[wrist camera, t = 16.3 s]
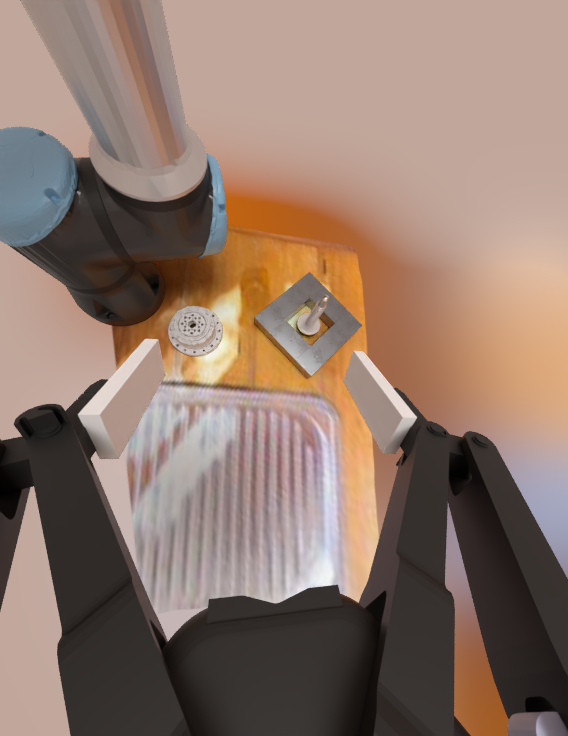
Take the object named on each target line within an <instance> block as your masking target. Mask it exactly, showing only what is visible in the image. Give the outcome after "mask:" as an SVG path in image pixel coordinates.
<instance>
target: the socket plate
mask: <svg viewBox="0 0 568 736" xmlns="http://www.w3.org/2000/svg"><path fill="white" fill-rule="evenodd" d="M325 295H328V296H329V300H328V303H327V306H326V308H325V310H324V311H323V313H322V314H321V316H320V317H319V318H320V319H321V320H322V321H323V322H324V323H325V324H326V325H327V326H328V327H329V328H330V329H329V330H328V331H327V332H325V333H324V334H323V335H322V336H321V337H320V338H319V339H318V340H317V341H316V342H315V343H314V344H313V345H312V346H310V345H309V344H308V343H307V342H306V341H305V340H304V339H303V338H302V337H301V336H300V335H299V334H298V333H297V332H296V331H295V330H294V329H293V328H292V327H291V325H290V324H289V323H288V322H287V321H288V320H289V319H290V318H291V317H292V316H294V315H295V314H296V313H297V312H298V311H299V310H300V309H302V308H303V307H304V306H305V305H307V306H308V307H309V308H310V309H311V310H313V308H314V306H315V305H316V303H317V302H318V301H320V300H321V299H323V297H324V296H325ZM254 324H255V325H256V326H257V327H258V328H259V329H260V330H261V331H262V332H263V333H264V334H265V335H266V336H267V337H268V338H269V339H270V340H271V341H272V343H273V344H274V345H275V346H276V347H277V348H278V349H279V350H280V351H281V352H282V353H283V354H284V355H285V356H286V357H287V358H288V359H289V360H290V361H291V362H292V363H293V364H294V365H295V366H296V367H297V369H298V370H299V371H300V372H301V373H302V374H303V375H304V376H305V377H306V378H309V377H311V376H312V375H313V374H314V373H315V372H316V371H317V370H318V369H319V368H320V367H321V366H322V365H323V364H324V363H325V362H326V361H327V360H328V359H329V358H330V357H331V356H332V355H333V354H334V353H335V352H336V351H337V350H338V349H339V348H340V347H341V346H342V345H343V344H344V343H345V342H346V341H347V340H348V339H349V338H350V337H351V336H352V335H353V334H354V333H355V332H356V331H357V330H358V329H359V328H360V327H361V326H362V325H361V324H360V323H359V322H358V321H357V320H356V319H355V318H354V317H353V316H352V315H351V314H350V313H349V312H348V311H347V310H346V308H345V307H344V306H343V305H342V304H341V303H340V302H339V301H338V300H337V299H336V298H335V297H334V296H333V295H332V294H331V293H330V292H329V291H328V290H327V289H326V288H325V287H324V286H323V285H322V284H321V283H320V282H319V281H318V280H317V279H316V278H315V277H314V276H313V275H312V274H311V273H310V272H309V273H308V274H307V275H305V276H304V277H303V278H302V279H300V280H299V281H298V282H297V283H296V284H294V285H293V286H292V287H291V288H289V289H288V290H287V291H286V292H285V293H283V294H282V295H281V296H280V297H278V298H277V299H276V300H275V301H274V302H272V303H271V304H270V305H269V306H267V307H266V308H265V309H264V310H263V311H261V312H260V313H259V314H258V315H257V316H255V317H254Z"/></svg>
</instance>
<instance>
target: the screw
mask: <svg viewBox="0 0 568 736" xmlns="http://www.w3.org/2000/svg"><path fill="white" fill-rule="evenodd" d="M328 300H329V296H328V295H325V296H324V297H323V299H321V300H320V301H318V302H317V303H316V305H315V306H314V308H313V310H312V311H311V313H304V314H302V315H301V316H300V317H299V319H298V321H297V325H298V328H299V330H300V331H301V332H302V333H303V334H306V335H313V334H315V333H317V332H318V330H319V328H320V321H319V319H318V318H319V317H320V316H321V314H322V313H323V311H324V310H325V308H326V306H327V303H328Z"/></svg>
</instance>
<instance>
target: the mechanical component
mask: <svg viewBox="0 0 568 736" xmlns="http://www.w3.org/2000/svg"><path fill="white" fill-rule="evenodd" d="M193 324H196V326H194V327H193V328H190V326H191V325H193ZM168 334H169V339H170V341H171V342H172V344H173V346H174V347H175V348H177V349H178V350H179V351H180V352H182V353H183V354H186V355H188V356H203V355H206V354H209V353H210V352H212V351H213V350H214V349H216V348H217V346H218V345H219V344H220V341H221V339H222V325H221V322H220V320H219V318H218V317H217V316H216V315H215V314H214V313H213V312H212V311H210V310H209V309H207V308H203V307H199V306H198V307H197V306H191V307H190V306H187V307H185V308H183V309H181V310H178V311H177V313H176V314H175V315H174V317H173V318H172V319H171V321H170V324H169V328H168ZM177 346H178V347H177ZM212 346H213V347H212ZM195 352H196V353H195Z"/></svg>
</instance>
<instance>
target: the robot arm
mask: <svg viewBox="0 0 568 736" xmlns="http://www.w3.org/2000/svg"><path fill="white" fill-rule="evenodd" d="M21 2H22V4H23V6H24V8H25V10H26V11H27V13H28V15H29V17H30V19H31V21H32V22H33V24H34V26H35V28H36V30H37V31H38V33H39V35H40V37H41V39H42V41H43V43H44V44H45V46H46V48H47V50H48V52H49V53H50V55H51V57H52V59H53V61H54V62H55V64H56V66H57V68H58V70H59V72H60V74H61V76H62V77H63V79H64V81H65V83H66V85H67V87H68V88H69V90H70V92H71V94H72V96H73V97H74V99H75V101H76V103H77V105H78V107H79V109H80V110H81V112H82V114H83V116H84V118H85V119H86V121H87V123H88V125H89V127H90V129H91V131H92V132H93V133H92V135H91V137H90V141H89V155H90V157H89V158H73V156H72V154H71V152H70V151H69V150H68V149H67V148H66V147H65V146H64V145H62V144H61V143H60V142H59V141H58V140H57V139H55V138H54V137H53V136H51V135H49V134H45V133H44V132H43V131H40V130H38V129H34V128H28V127H11V128H5V129H1V130H0V241H2V242H4V243H5V244H8V245H9V246H10V247H12V248H13V249H14V250H16V251H17V252H19V253H20V254H22V255H23V256H25V257H26V258H27V259H29V260H30V261H32V262H33V263H34V264H36V265H37V266H39V267H40V268H41V269H43V270H45V271H46V272H47V273H49V274H50V275H52V276H53V277H54V278H56V279H57V280H59V281H60V282H62V283H63V284H64V285H66V287H67V289H68V290H69V292H70V294H71V295H72V297H73V298H74V300H75V302H76V303H77V305H78V306H79V307H80V308H81V309H82V310H83V311H84V312H86V313H87V314H89V315H90V316H91V317H93V318H95V319H96V320H98V321H100V322H102V323H105V324H109V325H114V326H127V325H133V324H136V323H139V322H142V321H144V320H145V319H147V318H149V317H150V316H151V315H153V314H154V313H155V312H156V311H157V309H158V308H159V307H160V305H161V303H162V301H163V298H164V295H165V284H164V280H163V278H162V276H161V274H160V272H159V270H158V269H157V267H156V266H155V265H154V263H153V262H160V261H170V260H180V259H191V258H202V257H204V256H207V255H213V254H218V253H220V252H221V251H222V250H223V248H224V246H225V243H226V237H227V215H226V211H225V193H224V186H223V180H222V175H221V171H220V168H219V164H218V162H217V160H216V158H215V157H214V156H212V155H209V154H207V153H206V151H205V147H204V145H203V143H202V141H201V139H200V137H199V136H198V135H197V133H196V132H195V131H194V130H193V129H192V128H191V127H190V126H189V125H188V124H186V121H185V116H184V111H183V106H182V101H181V96H180V91H179V86H178V81H177V76H176V71H175V66H174V61H173V56H172V51H171V47H170V41H169V36H168V31H167V27H166V22H165V17H164V12H163V7H162V2H161V0H21ZM164 377H165V371H164V366H163V361H162V355H161V350H160V345H159V340H158V339H145V340H144V341H143V342H142V343H141V344H140V345H139V346H138V348H137V349H136V350H135V351H134V352H133V353H132V354H131V355H130V357H129V358H128V359H127V360H126V361H125V362H124V363H123V364H122V365H121V367H120V368H119V369H118V370H117V371H116V372H115V373H114V375H113V376H112V377H111V378H110V379H109V380H103V379H101V380H99V381H97V382H96V383H94V384H92V385H90V386H89V387H88V389H86V390H85V392H84V394H82V395H81V396H80V397H79V398H78V400H76V401H75V402H74V403H73V404H72V405H71V406H70V407H69V408H68V409H67V410H66V411H65V410H64V409H63V407H62V406H61V405H57V404H46V405H41V406H37V407H34V408H32V409H29V410H27V411H25V412H24V413H22V414H21V415H20V416H18V417H17V418H16V420H15V422H14V425H15V427H16V428H17V429H18V431H19V432H20V434H21V435H22V436H23V437H18V438H13V439H8V440H3V441H1V440H0V610H1V606H2V602H3V598H4V594H5V590H6V586H7V581H8V577H9V573H10V568H11V565H12V561H13V556H14V552H15V548H16V544H17V540H18V536H19V532H20V528H21V524H22V519H23V515H24V511H25V507H26V503H27V498H28V494H29V490H30V487H33V486H34V487H35V492H36V498H37V503H38V508H39V513H40V518H41V524H42V529H43V534H44V539H45V544H46V549H47V554H48V559H49V564H50V570H51V575H52V580H53V585H54V590H55V595H56V601H57V606H58V611H59V616H60V621H61V626H62V637H61V639H60V641H59V643H58V649H57V656H58V665H59V671H60V676H61V682H62V688H63V694H64V700H65V706H66V711H67V717H68V723H69V728H70V734H71V736H470V734H469V733H468V732H467V731H466V730H465V728H464V727H463V726H462V725H461V723H460V722H459V721H458V720H457V719H456V717H455V716H454V629H455V615H454V614H455V608H454V599H453V596H452V593H451V592H450V591H448V590H447V589H446V586H445V559H446V557H445V556H446V530H447V504H448V503H449V507H450V511H451V515H452V519H453V523H454V527H455V531H456V535H457V539H458V543H459V547H460V550H461V554H462V559H463V563H464V567H465V570H466V574H467V578H468V582H469V587H470V590H471V594H472V598H473V602H474V606H475V610H476V614H477V618H478V622H479V626H480V630H481V634H482V638H483V642H484V646H485V650H486V654H487V657H488V661H489V664H490V668H491V671H492V674H493V678H494V681H495V684H496V687H497V689H498V692H499V695H500V698H501V701H502V704H503V706H504V709H505V712H506V714H507V717H508V719H509V720H508V727H507V733H508V736H568V579H567V577H566V575H565V573H564V571H563V570H562V568H561V566H560V564H559V562H558V561H557V559H556V557H555V555H554V553H553V551H552V549H551V547H550V546H549V544H548V542H547V540H546V538H545V537H544V535H543V533H542V531H541V529H540V527H539V526H538V524H537V522H536V520H535V518H534V516H533V514H532V513H531V511H530V509H529V507H528V505H527V503H526V502H525V500H524V498H523V496H522V494H521V492H520V490H519V489H518V487H517V485H516V483H515V482H514V479H513V478H512V476H511V474H510V472H509V470H508V468H507V466H506V465H505V463H504V461H503V459H502V457H501V456H500V454H499V452H498V450H497V448H496V446H495V445H494V444H493V443H492V442H491V441H490V440H489V439H488V438H487V437H485V436H483V435H481V434H479V433H476V432H471V431H469V432H466V433H465V434H464V436H463V437H458V436H454V435H450V434H449V433H448V432H447V431H446V430H445V429H444V428H443V427H442V426H440V425H438V424H437V423H433V422H431V421H427V420H426V419H425V418H424V416H423V415H422V414H421V413H420V412H419V410H418V409H417V408H416V407H415V406H414V405H413V403H412V402H411V401H410V400H409V399H408V398H407V396H406V395H405V394H404V393H403V392H401V391H400V390H399V389H397V388H393V387H392V386H391V385H390V384H389V382H388V381H387V380H386V379H385V378H384V376H383V375H382V374H381V373H380V371H379V370H378V369H377V368H376V366H375V365H374V364H373V363H372V361H371V360H370V359H369V358H368V357H367V355H366V354H365V353H364V352H363V351H353V353H352V356H351V360H350V363H349V366H348V369H347V372H346V375H345V378H344V381H343V382H344V383H345V385H346V387H347V389H348V391H349V393H350V394H351V396H352V398H353V400H354V402H355V404H356V405H357V407H358V409H359V411H360V413H361V415H362V417H363V418H364V420H365V422H366V424H367V426H368V428H369V429H370V431H371V433H372V435H373V437H374V438H375V440H376V442H377V444H378V446H379V448H380V450H381V451H382V453H383V454H396V452H397V450H398V449H399V447H401V448H402V450H403V451H404V453H403V454H402V456H401V457H400V459H399V461H398V462H397V464H396V465H397V466H398V465H399V466H398V470H397V474H396V478H395V482H394V485H393V489H392V493H391V497H390V500H389V504H388V508H387V512H386V515H385V519H384V523H383V527H382V530H381V535H380V538H379V542H378V545H377V549H376V553H375V557H374V560H373V564H372V568H371V572H370V575H369V579H368V582H367V585H366V587H365V589H364V591H363V593H362V595H361V598H360V601H359V603H358V602H356V601H354V600H353V599H351V598H349V597H347V596H345V595H342V594H340V592H339V588H338V585H332V586H324V587H315V588H308V589H306V590H304V591H302V592H300V593H298V594H296V595H294V596H292V597H290V598H288V599H286V600H284V601H282V602H280V603H277V604H275V603H270V602H266V601H262V600H258V599H254V598H251V597H247V596H234V597H225V598H216V599H209V604H208V608H207V609H205V610H203V611H201V612H199V613H198V614H197V615H195V616H193V617H192V618H191V619H189V620H188V621H187V622H186V623H185V624H183V625H182V626H181V628H180V629H179V630H178V631H177V632H176V633H175V634H174V635H173V636H172V638H171V639H170V640H169V641H167V639H166V636H165V634H164V632H163V629H162V627H161V624H160V622H159V620H158V618H157V616H156V614H155V612H154V610H153V607H152V605H151V603H150V601H149V598H148V596H147V593H146V591H145V589H144V586H143V584H142V581H141V579H140V576H139V574H138V572H137V569H136V567H135V564H134V562H133V560H132V557H131V555H130V552H129V550H128V547H127V545H126V543H125V540H124V538H123V535H122V533H121V531H120V528H119V526H118V523H117V521H116V519H115V516H114V514H113V511H112V509H111V506H110V504H109V502H108V499H107V497H106V494H105V492H104V490H103V487H102V485H101V482H100V480H99V477H98V475H97V473H96V471H95V468H94V466H93V463H92V461H91V459H90V458H91V457H92V455H93V454H94V452H95V451H96V452H97V454H98V456H99V458H100V459H118V458H119V457H120V455H121V453H122V451H123V450H124V448H125V446H126V444H127V443H128V441H129V439H130V437H131V435H132V434H133V432H134V430H135V428H136V427H137V425H138V423H139V421H140V419H141V418H142V416H143V414H144V412H145V410H146V409H147V407H148V405H149V403H150V402H151V400H152V398H153V396H154V394H155V393H156V391H157V389H158V387H159V386H160V384H161V382H162V380H163V378H164Z"/></svg>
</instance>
